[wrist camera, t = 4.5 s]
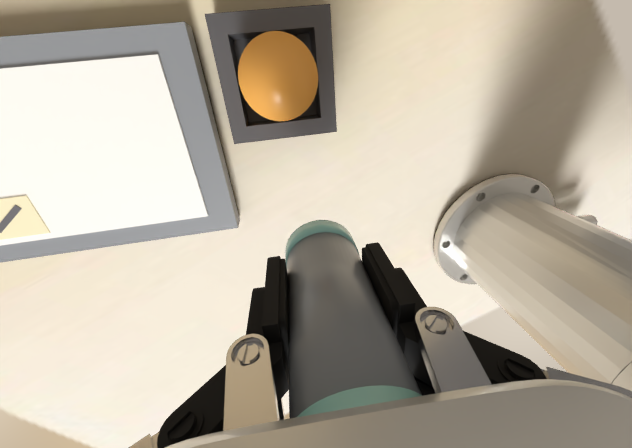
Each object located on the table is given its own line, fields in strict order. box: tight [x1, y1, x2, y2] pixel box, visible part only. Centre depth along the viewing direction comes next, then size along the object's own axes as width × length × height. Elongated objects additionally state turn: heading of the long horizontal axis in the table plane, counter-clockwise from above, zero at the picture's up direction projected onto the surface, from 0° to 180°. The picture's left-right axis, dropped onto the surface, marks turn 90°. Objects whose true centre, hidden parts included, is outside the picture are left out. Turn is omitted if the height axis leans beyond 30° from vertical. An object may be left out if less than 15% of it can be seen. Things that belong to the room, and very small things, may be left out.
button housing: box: [205, 4, 337, 144], centre depth 18 cm, size 7×7×3 cm
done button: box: [238, 31, 318, 121], centre depth 16 cm, size 4×4×2 cm
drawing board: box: [0, 22, 240, 262], centre depth 19 cm, size 20×14×2 cm
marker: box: [286, 220, 422, 418], centre depth 10 cm, size 4×4×11 cm
